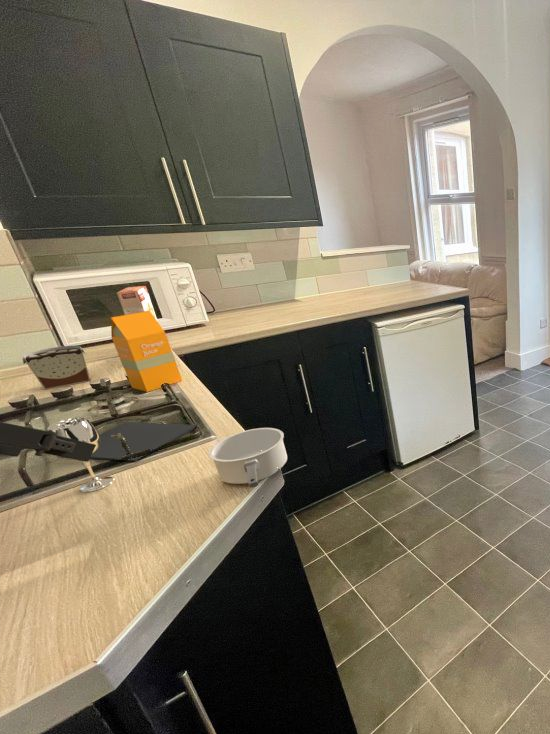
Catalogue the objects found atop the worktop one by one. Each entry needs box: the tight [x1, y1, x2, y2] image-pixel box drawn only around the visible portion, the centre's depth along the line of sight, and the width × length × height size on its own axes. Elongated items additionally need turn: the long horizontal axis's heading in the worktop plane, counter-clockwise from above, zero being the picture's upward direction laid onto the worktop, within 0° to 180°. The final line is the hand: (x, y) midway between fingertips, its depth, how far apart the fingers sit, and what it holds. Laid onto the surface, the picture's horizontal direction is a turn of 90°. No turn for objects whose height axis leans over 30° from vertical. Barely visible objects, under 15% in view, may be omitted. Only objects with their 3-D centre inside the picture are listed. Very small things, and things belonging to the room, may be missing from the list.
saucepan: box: [208, 427, 288, 488], centre depth 71 cm, size 12×20×6 cm, turn 33°
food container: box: [22, 345, 92, 391], centre depth 118 cm, size 12×6×10 cm, turn 130°
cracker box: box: [116, 285, 159, 323], centre depth 149 cm, size 14×6×21 cm, turn 30°
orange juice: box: [110, 310, 183, 393], centre depth 113 cm, size 8×9×20 cm
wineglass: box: [46, 416, 115, 493], centre depth 71 cm, size 6×6×12 cm
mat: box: [57, 421, 198, 462], centre depth 87 cm, size 18×14×1 cm
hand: (55, 450), depth 67 cm, fingers open, 13 cm apart
